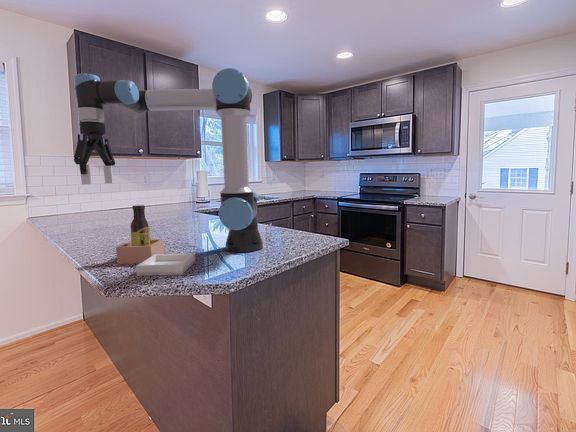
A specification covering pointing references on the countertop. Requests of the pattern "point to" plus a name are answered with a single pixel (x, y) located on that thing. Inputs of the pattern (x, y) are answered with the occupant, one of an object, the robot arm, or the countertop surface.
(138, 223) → the sauce bottle
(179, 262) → the tray
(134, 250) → the holder
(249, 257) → the countertop surface
